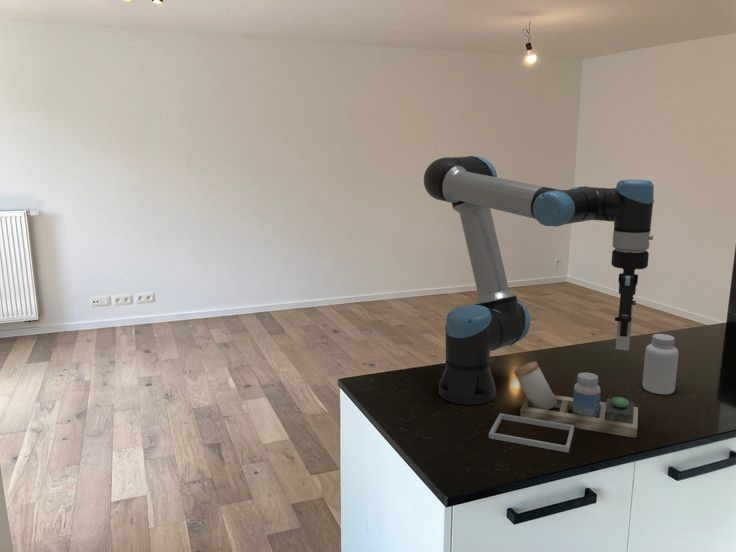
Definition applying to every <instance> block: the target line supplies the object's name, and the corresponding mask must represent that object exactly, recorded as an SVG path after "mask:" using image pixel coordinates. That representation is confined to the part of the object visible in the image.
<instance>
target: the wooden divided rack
mask: <svg viewBox="0 0 736 552" xmlns="http://www.w3.org/2000/svg"><path fill="white" fill-rule="evenodd" d="M553 395H554V396H555V398H556V400H557V404H556V405H555V406H554V407H553V408H556V409H559V411H557V410H556V411H555V410H550V409H549V410H544V409H537V408H533V407H532V405H531V403H530V401H529V399H528V397H527V396H526V397H525V399H524V401H523V402H522V403H523V404H522V406H521V408H520V413H519V414H520V415H519V416H520V417H526V418H532V419H538V420H544V421H550V422H557V423H563V424H569V425H574V429H581V430H585V431H592V432H597V433H605V434H610V435H616V436H623V437H628V438H634V439H637V437H638V423H639V421H638V420H639V407H638V406H635V402H634V401H629V400H628V401H629V403H628V406H627V407H623V408H622V409H621V408H617V406H614V405H613V404H612V398H606V402H604V401H600V415H599V418H595V417H589V416H582V415H576V414H573V413H568V412H569V411H570V410H571V411H573V397H571V396H564V395H555V394H553Z"/></svg>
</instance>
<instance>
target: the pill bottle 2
mask: <svg viewBox="0 0 736 552" xmlns="http://www.w3.org/2000/svg"><path fill="white" fill-rule="evenodd" d="M651 337H652V338H651V343H650V344H648V345H647V346H646V347H645V354H644V364H643V375H642V387H643V389H644V390H646V391H647V392H649V393H652V394H657V395H671V394H673V393H674V392H675V390H676V383H677V382H676V381H677V372H678V362H679V350H678V348H677V347H676V346H675V339H676V338H675V337H674V336H673V335H670V334H666V333H654V334H653V335H652V336H651Z"/></svg>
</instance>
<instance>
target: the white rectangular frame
mask: <svg viewBox="0 0 736 552" xmlns="http://www.w3.org/2000/svg"><path fill="white" fill-rule="evenodd" d="M502 420H504V421H510V422H515V423H521V424H528V425H534V426H539V427H546V428H550V429H551V428H552V429H556V430H557V429H558V430H562V431H568V432H569V433H568V436H567V439H566V440H567V441H566V443H565V445H564V444H559V443H553V442H547V441H544V440H543V441H542V440H537V439H530V438H525V437H518V436H516V435H515V436H514V435H509V434H508V435H507V434H503V433H497V429H498V428H499V426H500V424H501V422H502ZM574 433H575V428H574V425H569V424H563V423H557V422H550V421H544V420H538V419H532V418H526V417H520V415H519V416H518V415H513V414H507V413H501V412H500V413H498V416H497V418H496V419H495V422H494V423H493V425H492V427H491V428H490V430H489V432H488V439H492V440H497V441H503V442H506V443H507V442H508V443H513V444H519V445H525V446H529V447H530V446H531V447H536V448H541V449H542V448H543V449H546V450H553V451H557V452H563V453H569V452H570V448H571V444H572V442H573V441H572V440H573V436H574Z"/></svg>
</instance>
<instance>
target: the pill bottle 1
mask: <svg viewBox="0 0 736 552" xmlns="http://www.w3.org/2000/svg"><path fill="white" fill-rule="evenodd" d="M598 383H599V376H598V374H595V373H593V372H592V373H591V372H580V373H578V374H577V382H576V383H575V384H574V387H573V396H572V398H573V410H572V414H576V415H582V416H589V417H595V418H599V416H600V402H601V394H602V389H601V387H600V386H599V384H598Z"/></svg>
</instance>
